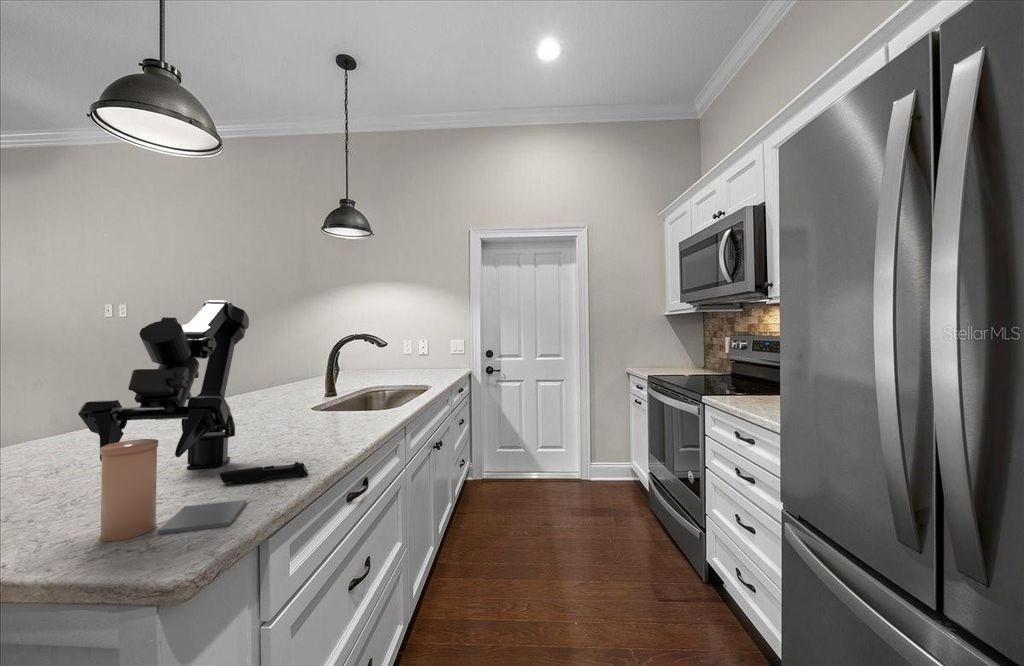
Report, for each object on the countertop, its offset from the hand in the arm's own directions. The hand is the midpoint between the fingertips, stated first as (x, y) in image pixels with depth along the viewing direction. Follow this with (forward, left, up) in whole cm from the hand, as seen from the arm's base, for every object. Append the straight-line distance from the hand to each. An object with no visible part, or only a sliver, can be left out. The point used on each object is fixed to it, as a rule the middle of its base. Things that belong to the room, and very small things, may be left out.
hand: (140, 458), depth 63 cm
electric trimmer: (-14, -16, -10) cm, 24 cm away
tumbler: (0, +3, -10) cm, 10 cm away
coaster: (-9, +1, -10) cm, 14 cm away
